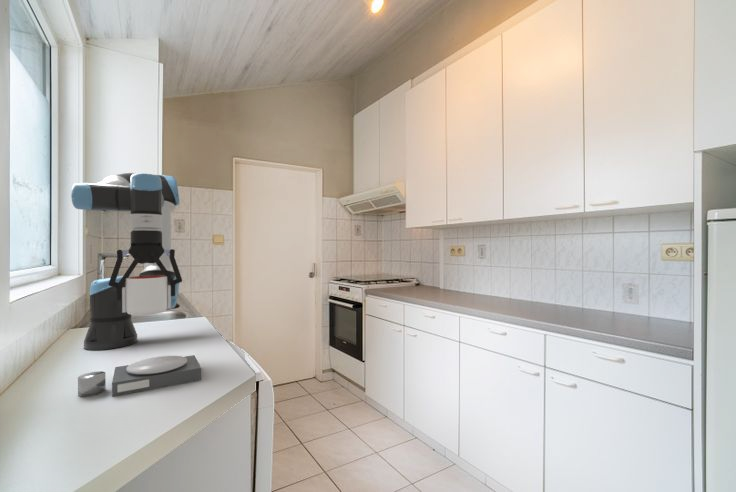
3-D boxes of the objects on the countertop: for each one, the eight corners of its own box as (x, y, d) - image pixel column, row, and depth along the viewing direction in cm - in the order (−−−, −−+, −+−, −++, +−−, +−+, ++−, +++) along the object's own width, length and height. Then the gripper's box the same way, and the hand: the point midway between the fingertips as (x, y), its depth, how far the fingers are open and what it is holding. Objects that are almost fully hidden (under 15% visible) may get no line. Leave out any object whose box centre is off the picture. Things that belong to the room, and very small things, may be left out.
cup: (175, 309, 106) (175, 275, 106) (151, 316, 96) (151, 278, 96) (143, 309, 107) (143, 275, 107) (116, 316, 97) (116, 278, 97)
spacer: (79, 391, 83) (79, 374, 83) (106, 387, 86) (106, 370, 86) (76, 399, 79) (76, 380, 79) (104, 393, 81) (104, 376, 81)
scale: (115, 379, 91) (115, 363, 91) (194, 365, 100) (194, 351, 100) (111, 397, 79) (111, 378, 79) (201, 380, 89) (201, 364, 89)
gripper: (94, 228, 92) (95, 316, 92) (193, 230, 104) (193, 307, 104) (97, 229, 98) (98, 311, 98) (189, 231, 110) (190, 304, 110)
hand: (147, 309), depth 101 cm, fingers closed on cup, 10 cm apart
